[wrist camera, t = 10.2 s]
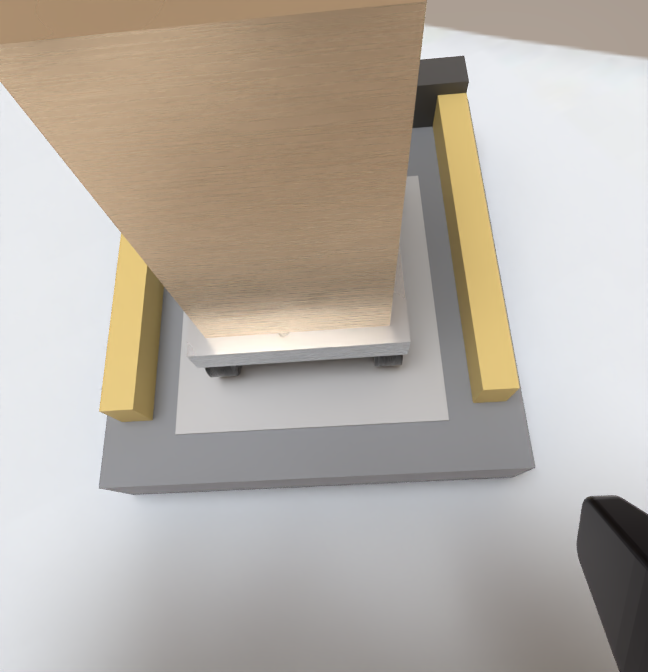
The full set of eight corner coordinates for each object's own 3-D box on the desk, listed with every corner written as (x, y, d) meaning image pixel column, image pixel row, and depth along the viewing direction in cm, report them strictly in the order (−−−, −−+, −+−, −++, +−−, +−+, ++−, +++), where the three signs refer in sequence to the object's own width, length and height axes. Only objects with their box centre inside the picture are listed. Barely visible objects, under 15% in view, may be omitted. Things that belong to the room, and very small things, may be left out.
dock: (512, 477, 17) (559, 457, 13) (133, 494, 18) (62, 481, 14) (457, 144, 22) (478, 54, 18) (163, 168, 23) (119, 86, 19)
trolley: (403, 373, 16) (541, -226, 4) (214, 385, 17) (-287, -123, 4) (383, 184, 19) (421, -550, 6) (221, 197, 19) (-64, -472, 6)
